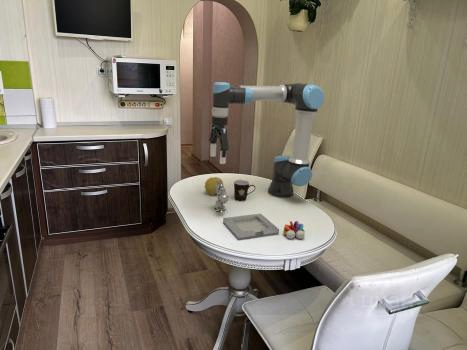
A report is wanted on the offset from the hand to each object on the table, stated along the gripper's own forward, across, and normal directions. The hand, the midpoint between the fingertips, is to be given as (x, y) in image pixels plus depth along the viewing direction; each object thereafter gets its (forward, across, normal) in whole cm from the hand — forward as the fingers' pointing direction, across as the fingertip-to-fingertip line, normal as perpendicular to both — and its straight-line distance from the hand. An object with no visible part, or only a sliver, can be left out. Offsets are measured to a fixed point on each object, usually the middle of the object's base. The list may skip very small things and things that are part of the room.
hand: (217, 159), depth 171 cm
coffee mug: (+27, -11, +21) cm, 36 cm away
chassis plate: (+27, +23, +9) cm, 37 cm away
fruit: (+27, -24, +8) cm, 38 cm away
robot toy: (+27, +1, +3) cm, 27 cm away
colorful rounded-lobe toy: (+28, +35, +25) cm, 51 cm away
